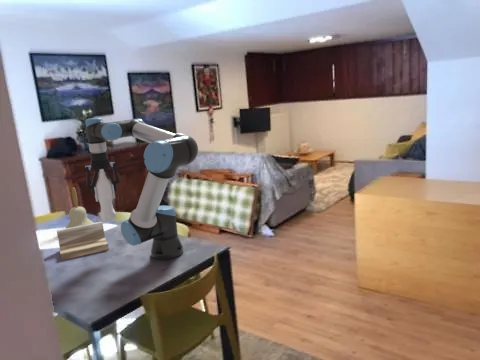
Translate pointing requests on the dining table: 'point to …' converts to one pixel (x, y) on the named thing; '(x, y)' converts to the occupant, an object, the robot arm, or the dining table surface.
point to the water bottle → (105, 196)
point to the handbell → (77, 213)
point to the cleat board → (82, 240)
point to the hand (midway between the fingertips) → (105, 199)
